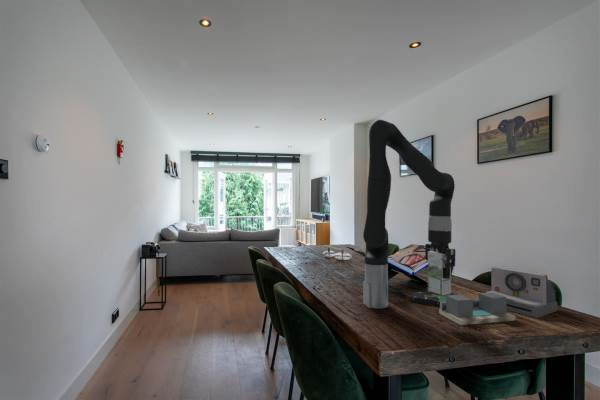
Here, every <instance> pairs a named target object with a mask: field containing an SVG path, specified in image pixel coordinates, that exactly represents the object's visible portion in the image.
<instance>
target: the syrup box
mask: <svg viewBox="0 0 600 400" xmlns="http://www.w3.org/2000/svg"><path fill="white" fill-rule="evenodd" d="M446 257H447V256H446V255H445V254H443V253H436V251H428V260H427V293H431V294H436V295H442V296H446V295H451V293H452V282H451V281H452V267H451V268H450V278H449V279H444V278H443V261H442V260H441V258H442V259H443V258H446ZM445 263H446V261H445ZM450 263H452V260H450Z"/></svg>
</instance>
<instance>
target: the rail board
mask: <svg viewBox="0 0 600 400" xmlns="http://www.w3.org/2000/svg"><path fill="white" fill-rule="evenodd" d="M445 296H446V302H440V307H439V310H438V314H439V315H441V316H443V317H444V318H447V319H449V320H451V321H453V322H454V323H456V324H457V325H460V326H468V324H469V325H479V324H488V323H489V324H490V323H501V322H511V321H516V315H513V314H511V313H509V312H507V311H508V310H507V306H506V297H505V296H502V295H499V294H496V293H493V292H491V293H486V292H480V293H478V299H473V298H470V297H467V296H466V295H462V294H446V295H445Z"/></svg>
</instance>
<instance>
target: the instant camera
mask: <svg viewBox="0 0 600 400" xmlns="http://www.w3.org/2000/svg"><path fill="white" fill-rule="evenodd" d="M490 270H491V271H490V273H491V274H490V275H491V281H490V282H491V284H490V286H491V290H489V291H487V292H485V293H491V292H493V293H496V294H499V295H502V296H505V297H506V306H507V311H508V312H513V313H517V314H519V313H520V315H524V316H527V317H531V318H535V319H537V318H538V319H539V318H542V317H545V316H547V315H549V314H552V313H555V312H558V301H557V300H556V298H557V297H556V291H555V289H554V286H553V283H552V281H551V280H549V279H548V278H549V277H548V275H546V274H542V273H536V272H529V271H523V270H517V269H512V268H503V267H499V266H498V267H497V266H495V267H491V269H490Z"/></svg>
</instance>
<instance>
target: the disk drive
mask: <svg viewBox="0 0 600 400" xmlns="http://www.w3.org/2000/svg"><path fill="white" fill-rule="evenodd" d="M409 302H412V303H416V304H417V303H418V304H422V305H426V306H432V307H437V308H440V302H446V295H439V294H435V293H431V292H423V291H417V292H414V293H412V294H411V295H409Z"/></svg>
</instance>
